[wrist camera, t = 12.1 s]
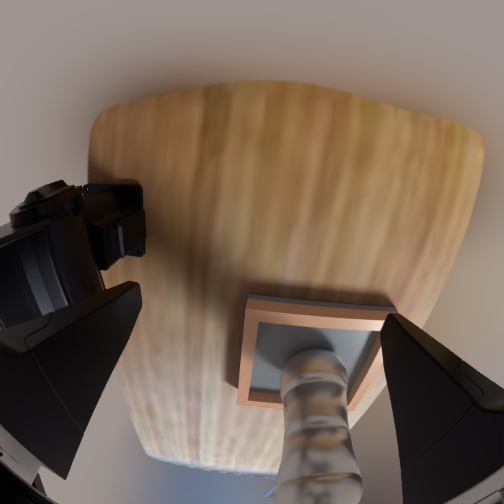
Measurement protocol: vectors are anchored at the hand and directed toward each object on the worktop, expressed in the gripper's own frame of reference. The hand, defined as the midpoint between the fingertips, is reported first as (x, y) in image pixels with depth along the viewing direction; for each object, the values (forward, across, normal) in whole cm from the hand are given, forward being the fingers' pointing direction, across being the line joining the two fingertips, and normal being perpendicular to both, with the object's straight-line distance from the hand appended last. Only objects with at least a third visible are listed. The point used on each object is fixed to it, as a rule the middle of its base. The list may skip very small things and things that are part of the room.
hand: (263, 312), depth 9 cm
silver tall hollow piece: (+12, -6, +15) cm, 20 cm away
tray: (+13, -6, +15) cm, 21 cm away
